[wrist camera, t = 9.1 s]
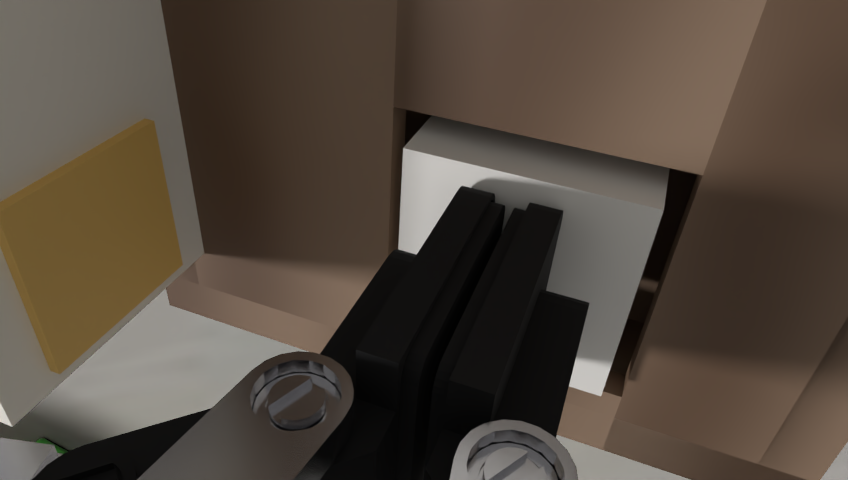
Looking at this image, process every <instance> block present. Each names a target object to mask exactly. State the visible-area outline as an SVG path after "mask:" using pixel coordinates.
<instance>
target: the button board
mask: <svg viewBox="0 0 848 480" xmlns="http://www.w3.org/2000/svg"><path fill="white" fill-rule="evenodd" d="M161 6H162V12H163V18H164V23H165V29H166V35H167V41H168V46H169V52H170V58H171V64H172V69H173V75H174V81H175V87H176V93H177V98H178V104H179V110H180V116H181V121H182V127H183V133H184V139H185V144H186V150H187V156H188V162H189V167H190V173H191V179H192V185H193V191H194V196H195V202H196V208H197V214H198V219H199V225H200V231H201V237H202V242H203V248H204V254H203V255H202V256H201V257H200V258H199V259H197V260H196V261H195V262H194V263H193V264H192V265H191V266H190V267H189V268H188V269H186V270H185V271H184V272H183V273H182V274H181V275H180V276H179V277H178V278H176V279H175V280H174V281H173V282H172V283H171V284H170V285H169V286H168V287H167V288H166V290H167V294H168V299H169V303H170V305H172V306H175V307H178V308H181V309H184V310H187V311H190V312H193V313H196V314H199V315H202V316H205V317H208V318H211V319H214V320H216V321H219V322H222V323H225V324H228V325H231V326H234V327H237V328H240V329H243V330H246V331H249V332H252V333H255V334H258V335H261V336H264V337H267V338H270V339H273V340H276V341H279V342H282V343H285V344H288V345H291V346H294V347H297V348H300V349H303V350H306V351H309V352H314V353H318V354H320V353H321V352H322V350H323V349H324V347H325V346H326V344H327V343H328V342H329V340H330V339H331V337H332V336H333V334H334V333H335V332H336V330H337V329H338V327H339V326H340V324H341V323H342V321H343V320H344V319H345V317H346V316H347V314H348V313H349V311H350V310H351V309H352V307H353V306H354V304H355V303H356V301H357V300H358V299H359V297H360V296H361V294H362V293H363V291H364V290H365V289H366V287H367V286H368V284H369V283H370V281H371V280H372V279H373V277H374V276H375V274H376V273H377V271H378V270H379V268H380V267H381V266H382V264H383V263H384V261H385V260H386V258H387V257H388V256H389V255H390V253H391V252H392V251H393V250H396V249H398V243H399V223H400V202H401V181H402V161H403V148H404V147H405V145H406V144H407V143H408V142H409V141H410V140H411V139H412V137H413V136H414V135H415V134H416V133H417V132H418V131H419V129H420V128H421V127H422V126H423V125H424V124H425V123H426V121H427V120H428V119H429V118H430V117H431V116H432V115H433V116H437V117H442V118H446V119H451V120H455V121H460V122H464V123H469V124H473V125H478V126H482V127H487V128H491V129H496V130H500V131H505V132H509V133H514V134H518V135H523V136H527V137H532V138H536V139H541V140H545V141H550V142H554V143H559V144H564V145H568V146H573V147H577V148H582V149H586V150H591V151H595V152H600V153H604V154H609V155H613V156H618V157H622V158H627V159H631V160H636V161H640V162H645V163H649V164H654V165H658V166H663V167H667V168H670V169H669V177H668V184H667V191H666V198H665V206H664V211H663V214H662V217H661V220H660V223H659V226H658V229H657V232H656V235H655V238H654V241H653V244H652V247H651V250H650V253H649V256H648V259H647V262H646V265H645V268H644V271H643V274H642V277H641V280H640V283H639V285H638V288H637V291H636V294H635V297H634V300H633V303H632V306H631V309H630V312H629V315H628V318H627V321H626V324H625V327H624V330H623V333H622V336H621V339H620V342H619V345H618V348H617V351H616V354H615V357H614V360H613V363H612V366H611V369H610V372H609V375H608V378H607V380H606V383H605V386H604V389H603V392H602V395H601V396H598V395H595V394H592V393H588V392H585V391H582V390H579V389H576V388H573V387H568V391H567V395H566V399H565V403H564V407H563V411H562V415H561V419H560V423H559V427H558V431H557V435H560V436H563V437H566V438H569V439H572V440H575V441H578V442H581V443H584V444H587V445H590V446H593V447H596V448H599V449H602V450H605V451H608V452H611V453H614V454H617V455H620V456H623V457H625V458H628V459H631V460H634V461H637V462H640V463H643V464H646V465H649V466H652V467H655V468H658V469H661V470H664V471H667V472H670V473H673V474H676V475H679V476H682V477H685V478H688V479H691V480H820V479H821V478H822V476H823V475H824V474H825V472H826V471H827V469H828V468H829V467H830V465H831V464H832V462H833V461H834V460H835V458H836V457H837V455H838V454H839V453H840V451H841V450H842V449H843V447H844V446H845V444H846V443H847V442H848V0H161Z"/></svg>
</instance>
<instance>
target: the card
mask: <svg viewBox="0 0 848 480" xmlns="http://www.w3.org/2000/svg"><path fill="white" fill-rule="evenodd" d="M203 254H204V248H203V242H202V237H201V231H200V225H199V219H198V214H197V208H196V202H195V196H194V191H193V185H192V179H191V173H190V167H189V162H188V156H187V150H186V144H185V139H184V133H183V127H182V121H181V116H180V110H179V104H178V98H177V93H176V87H175V81H174V75H173V69H172V64H171V58H170V52H169V46H168V41H167V35H166V29H165V23H164V18H163V12H162V6H161V0H0V422H2V423H4V424H6V425H9V426H11V427H13V426H14V425H15V424H16V423H18V422H19V421H20V420H21V419H22V418H23V417H24V416H25V415H26V414H27V413H29V412H30V411H31V410H32V409H33V408H34V407H35V406H36V405H37V404H38V403H40V402H41V401H42V400H43V399H44V398H45V397H46V396H47V395H48V394H50V393H51V392H52V391H53V390H54V389H55V388H56V387H57V386H58V385H59V384H61V383H62V382H63V381H64V380H65V379H66V378H67V377H68V376H69V375H70V374H72V373H73V372H74V371H75V370H76V369H77V368H78V367H79V366H80V365H82V364H83V363H84V362H85V361H86V360H87V359H88V358H89V357H90V356H91V355H93V354H94V353H95V352H96V351H97V350H98V349H99V348H100V347H101V346H103V345H104V344H105V343H106V342H107V341H108V340H109V339H110V338H111V337H112V336H114V335H115V334H116V333H117V332H118V331H119V330H120V329H121V328H122V327H123V326H125V325H126V324H127V323H128V322H129V321H130V320H131V319H132V318H133V317H135V316H136V315H137V314H138V313H139V312H140V311H141V310H142V309H143V308H144V307H146V306H147V305H148V304H149V303H150V302H151V301H152V300H153V299H154V298H155V297H157V296H158V295H159V294H160V293H161V292H162V291H163V290H164V289H165V288H167V287H168V286H169V285H170V284H171V283H172V282H173V281H174V280H175V279H176V278H178V277H179V276H180V275H181V274H182V273H183V272H184V271H185V270H186V269H188V268H189V267H190V266H191V265H192V264H193V263H194V262H195V261H196V260H197V259H199V258H200V257H201V256H202V255H203Z"/></svg>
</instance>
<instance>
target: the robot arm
mask: <svg viewBox="0 0 848 480" xmlns="http://www.w3.org/2000/svg"><path fill="white" fill-rule="evenodd" d="M504 215H505V205H502V204H498V203H495V194H494V193H490V192H486V191H482V190H478V189H474V188H470V187H466V186H461V187H460V188H459V189H458V191H457V192H456V194H455V195H454V197H453V199H452V200H451V202H450V203H449V205H448V206H447V208H446V210H445V211H444V213H443V214H442V216H441V217H440V219H439V220H438V222H437V224H436V225H435V227H434V228H433V230H432V231H431V233H430V235H429V236H428V238H427V239H426V241H425V242H424V244H423V245H422V247H421V249H420V250H419V252H418V253H417V255H416V254H413V253H409V252H406V251H402V250H398V249H396V250H393V251H392V252H391V253H390V255H389V256H388V257H387V258H386V260H385V261H384V263H383V264H382V266H381V267H380V268H379V270H378V271H377V273H376V274H375V276H374V277H373V279H372V280H371V281H370V283H369V284H368V286H367V287H366V289H365V290H364V291H363V293H362V294H361V296H360V297H359V299H358V300H357V301H356V303H355V304H354V306H353V307H352V309H351V310H350V311H349V313H348V314H347V316H346V317H345V319H344V320H343V321H342V323H341V324H340V326H339V327H338V329H337V330H336V332H335V333H334V334H333V336H332V337H331V339H330V340H329V342H328V343H327V344H326V346H325V347H324V349H323V350H322V352H321V353H320V354H318V353H314V352H299V351H298V352H292V353H285V354H280V355H278V356H275V357H273V358H270V359H268V360H266V361H264V362H263V363H261V364H260V365H258V366H257V367H256V368H254V369H253V370H252V371H251V372H250V373H248V374H247V375H246V376H245V377H244V378H243V379H242V380H241V381H240V382H239V383H238V384H237V385H236V386H235V387H234V388H233V389H232V390H231V391H230V392H228V393H227V394H226V395H225V396H224V397H223V398H222V399H221V400H220V401H219V402H218V403H217V404H216V405H215V406H214V407H213V408H211V409H207V410H204V411H201V412H197V413H194V414H190V415H187V416H183V417H180V418H176V419H173V420H170V421H166V422H163V423H159V424H156V425H152V426H149V427H145V428H142V429H138V430H135V431H132V432H128V433H125V434H121V435H118V436H114V437H111V438H107V439H104V440H101V441H97V442H94V443H90V444H87V445H84V446H81V447H79V448H76V449H74V450H71V451H69V452H66V453H64V454H61V453H57V451H56V448H55V446H54V445H50V444H43V443H36V442H28V441H21V440H14V439H7V438H0V480H578V476H577V469H576V466H575V464H574V462H573V460H572V458H571V456H570V454H569V452H568V451H567V449H566V448H565V447H564V446H563V445H562V444H561V443H560V442H559V441H558V440H557V439H556V435H557V431H558V427H559V423H560V419H561V415H562V411H563V407H564V403H565V399H566V395H567V391H568V387H569V383H570V379H571V375H572V372H573V368H574V364H575V360H576V356H577V352H578V348H579V344H580V340H581V336H582V332H583V328H584V324H585V320H586V316H587V312H588V308H589V302H585V301H582V300H578V299H575V298H571V297H567V296H564V295H560V294H557V293H553V292H549V291H546V289H547V284H548V280H549V275H550V271H551V267H552V262H553V258H554V253H555V249H556V245H557V240H558V236H559V231H560V227H561V223H562V218H563V210H559V209H555V208H551V207H547V206H543V205H539V204H535V203H531V202H530V203H529V205H528V206H527V209H526V210H522V209H518V208H514V209H513V211H512V213H511V215H510V217H509V220H508V222H507V224H506V226H505V228H504V230H503V232H502V227H503V221H504ZM501 233H502V234H501Z"/></svg>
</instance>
